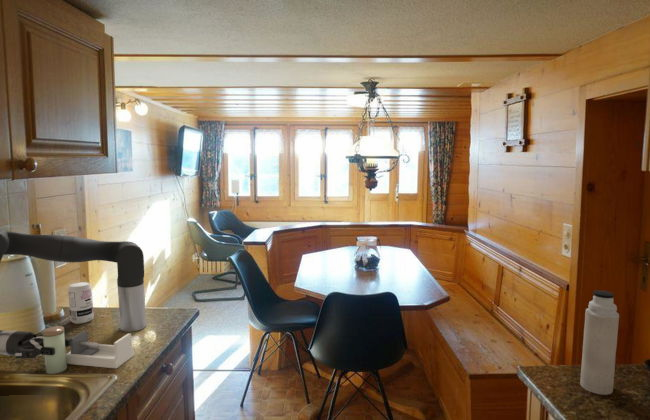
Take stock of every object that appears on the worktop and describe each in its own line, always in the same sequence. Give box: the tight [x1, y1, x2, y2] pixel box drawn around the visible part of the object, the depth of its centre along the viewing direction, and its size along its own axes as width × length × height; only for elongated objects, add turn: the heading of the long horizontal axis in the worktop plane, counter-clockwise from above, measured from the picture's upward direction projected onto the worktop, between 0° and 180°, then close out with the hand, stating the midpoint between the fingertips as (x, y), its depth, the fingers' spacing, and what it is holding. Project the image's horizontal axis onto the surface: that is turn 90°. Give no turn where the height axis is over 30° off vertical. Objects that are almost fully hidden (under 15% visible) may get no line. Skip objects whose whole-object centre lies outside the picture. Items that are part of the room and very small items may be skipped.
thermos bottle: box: [579, 290, 620, 396], centre depth 125 cm, size 8×8×28 cm
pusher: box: [69, 329, 99, 355], centre depth 145 cm, size 7×7×7 cm
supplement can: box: [67, 281, 95, 325], centre depth 178 cm, size 8×8×15 cm
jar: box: [41, 325, 68, 375], centre depth 138 cm, size 6×6×13 cm
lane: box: [66, 332, 135, 369], centre depth 145 cm, size 20×9×8 cm, turn 79°
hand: (61, 347), depth 137 cm, fingers closed on jar, 5 cm apart
